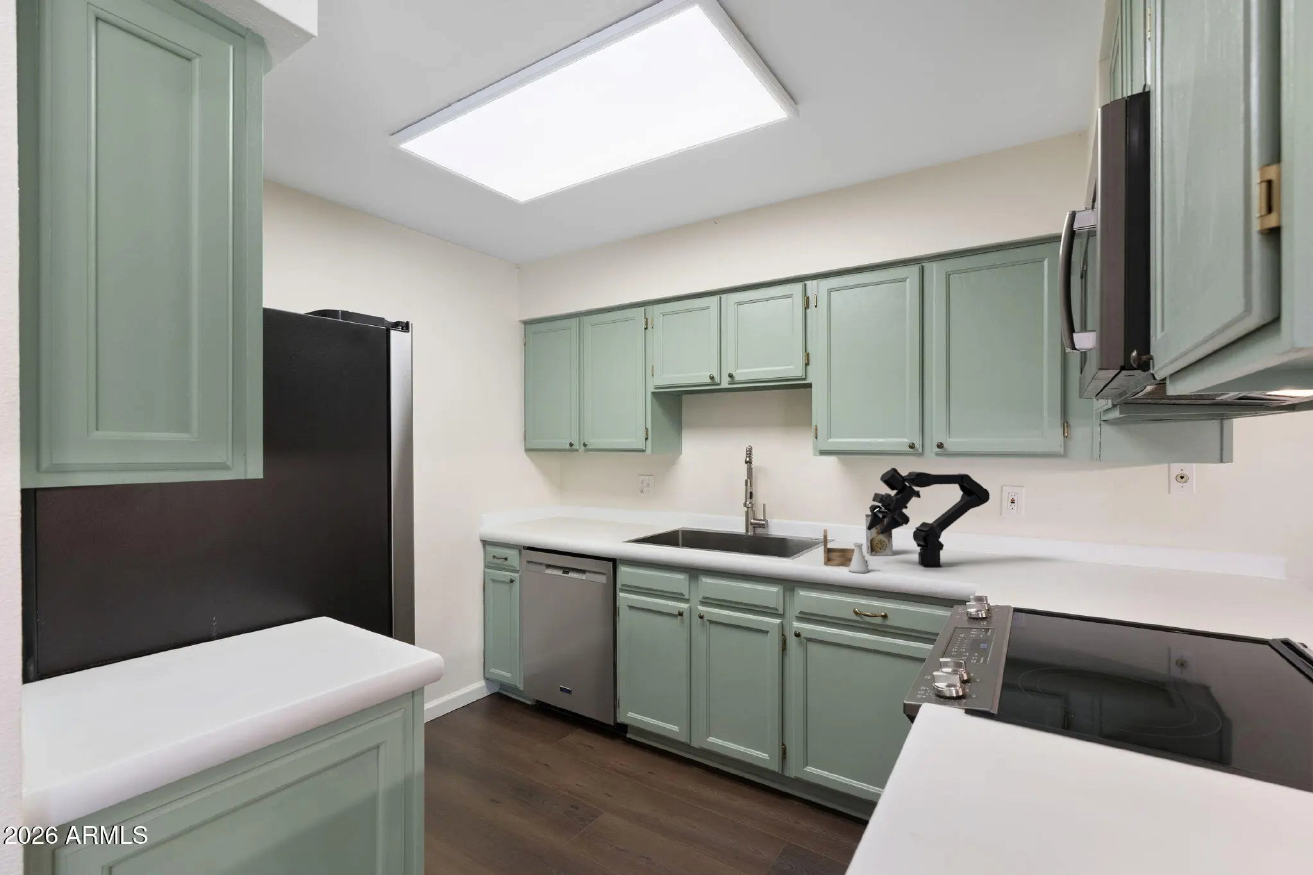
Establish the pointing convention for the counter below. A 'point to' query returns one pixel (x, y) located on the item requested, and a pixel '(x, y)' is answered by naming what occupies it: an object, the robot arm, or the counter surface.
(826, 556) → the spice stand
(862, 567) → the flask
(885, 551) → the coffee box
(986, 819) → the counter surface
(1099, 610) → the counter surface
